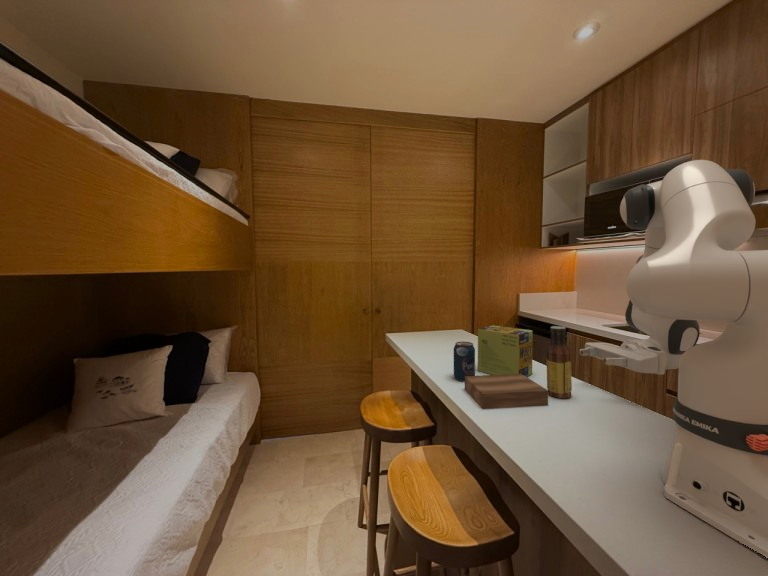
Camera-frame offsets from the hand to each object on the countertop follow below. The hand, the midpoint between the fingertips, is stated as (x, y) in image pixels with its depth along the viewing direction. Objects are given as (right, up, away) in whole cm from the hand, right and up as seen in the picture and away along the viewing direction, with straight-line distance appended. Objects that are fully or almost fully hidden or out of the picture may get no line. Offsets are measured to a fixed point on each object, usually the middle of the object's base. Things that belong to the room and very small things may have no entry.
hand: (592, 356), depth 92 cm
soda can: (-34, -11, +15) cm, 38 cm away
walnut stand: (-26, -11, -1) cm, 28 cm away
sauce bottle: (-10, -11, 0) cm, 15 cm away
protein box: (-18, -10, +20) cm, 29 cm away
